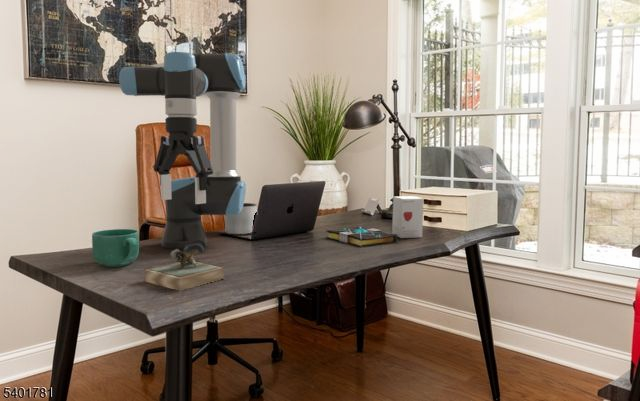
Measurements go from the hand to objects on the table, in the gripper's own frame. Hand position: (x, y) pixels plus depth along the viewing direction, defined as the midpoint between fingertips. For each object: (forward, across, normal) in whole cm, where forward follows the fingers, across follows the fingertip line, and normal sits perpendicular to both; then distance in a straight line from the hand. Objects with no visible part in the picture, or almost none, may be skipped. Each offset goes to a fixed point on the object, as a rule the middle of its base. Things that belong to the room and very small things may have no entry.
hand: (183, 201), depth 135 cm
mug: (+21, -28, -1) cm, 35 cm away
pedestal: (+20, 0, 0) cm, 20 cm away
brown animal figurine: (+17, -1, +2) cm, 18 cm away
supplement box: (+21, +13, +95) cm, 98 cm away
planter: (+21, -41, +60) cm, 76 cm away
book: (+21, +4, +76) cm, 80 cm away
